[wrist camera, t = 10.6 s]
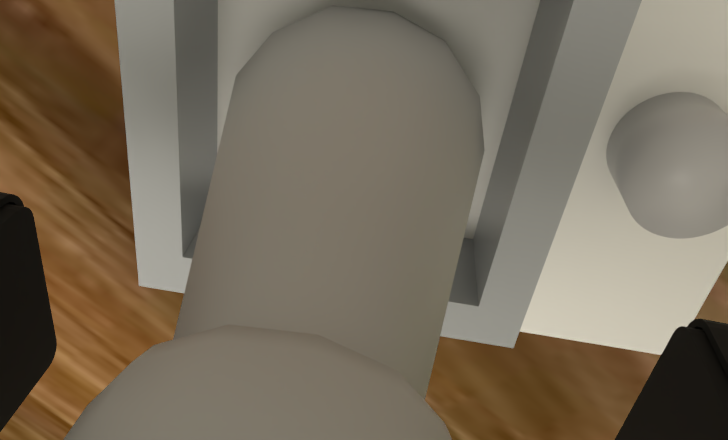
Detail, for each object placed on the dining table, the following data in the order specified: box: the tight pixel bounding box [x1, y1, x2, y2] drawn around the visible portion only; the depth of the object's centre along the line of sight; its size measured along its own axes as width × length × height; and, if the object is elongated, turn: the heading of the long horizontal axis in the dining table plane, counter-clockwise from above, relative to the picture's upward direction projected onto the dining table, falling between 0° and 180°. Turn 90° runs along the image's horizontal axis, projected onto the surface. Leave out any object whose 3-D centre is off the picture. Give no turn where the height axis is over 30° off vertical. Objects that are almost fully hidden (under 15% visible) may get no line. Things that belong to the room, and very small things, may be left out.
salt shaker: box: [64, 5, 485, 440], centre depth 11 cm, size 6×6×13 cm
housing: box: [115, 0, 728, 355], centre depth 15 cm, size 16×14×4 cm
